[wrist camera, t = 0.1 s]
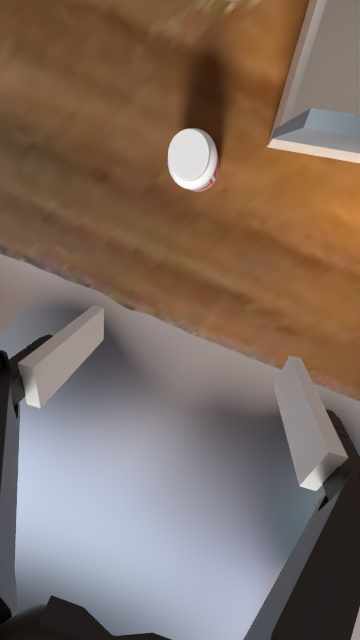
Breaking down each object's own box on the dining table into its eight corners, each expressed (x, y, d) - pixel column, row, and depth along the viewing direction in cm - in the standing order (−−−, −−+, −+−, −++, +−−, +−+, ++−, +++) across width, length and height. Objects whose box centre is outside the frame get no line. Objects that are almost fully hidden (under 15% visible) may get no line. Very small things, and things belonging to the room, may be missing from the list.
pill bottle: (196, 133, 33) (182, 103, 23) (228, 162, 33) (228, 145, 24) (171, 174, 35) (151, 163, 26) (202, 200, 36) (192, 199, 27)
